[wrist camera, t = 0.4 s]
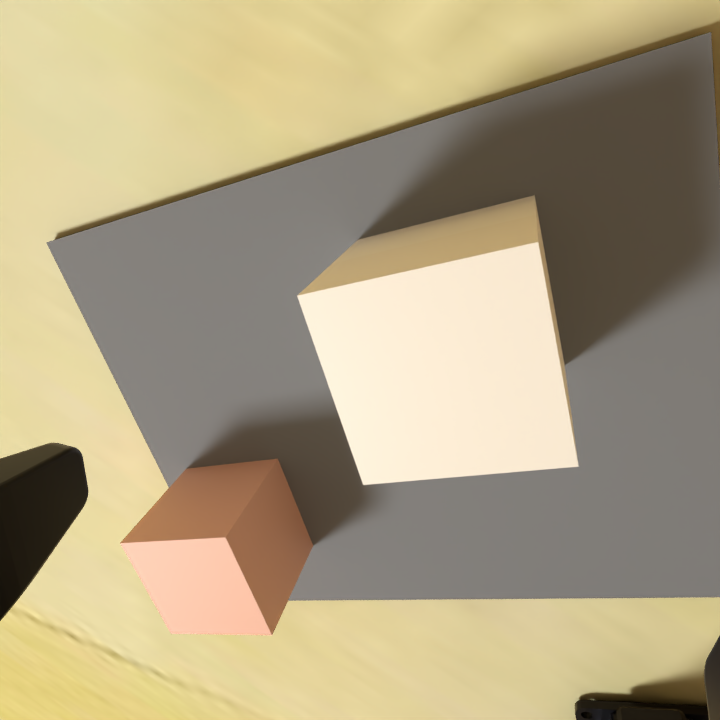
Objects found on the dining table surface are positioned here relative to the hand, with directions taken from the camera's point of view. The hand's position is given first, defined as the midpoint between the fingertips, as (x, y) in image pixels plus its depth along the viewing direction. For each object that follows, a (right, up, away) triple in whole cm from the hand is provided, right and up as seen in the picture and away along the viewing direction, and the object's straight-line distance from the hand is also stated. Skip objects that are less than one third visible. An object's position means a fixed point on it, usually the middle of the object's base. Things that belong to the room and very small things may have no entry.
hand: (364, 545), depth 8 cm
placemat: (+1, +1, +15) cm, 15 cm away
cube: (-5, -4, +19) cm, 20 cm away
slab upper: (+3, +3, +9) cm, 10 cm away
